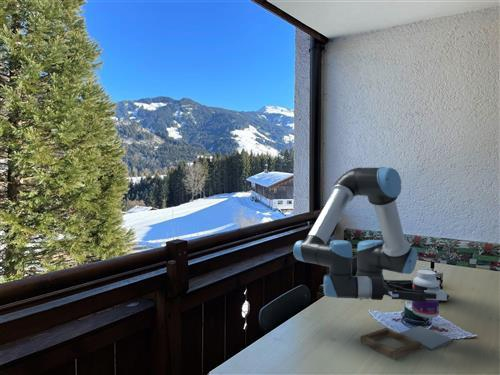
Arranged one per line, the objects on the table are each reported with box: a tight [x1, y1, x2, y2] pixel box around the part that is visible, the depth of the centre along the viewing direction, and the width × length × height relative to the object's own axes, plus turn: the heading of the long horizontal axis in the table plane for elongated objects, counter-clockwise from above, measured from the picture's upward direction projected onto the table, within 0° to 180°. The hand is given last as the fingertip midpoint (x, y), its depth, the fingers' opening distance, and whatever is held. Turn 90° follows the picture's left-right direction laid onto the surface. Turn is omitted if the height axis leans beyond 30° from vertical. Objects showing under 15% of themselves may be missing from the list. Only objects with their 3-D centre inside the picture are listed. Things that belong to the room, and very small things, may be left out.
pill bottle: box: [411, 269, 441, 319], centre depth 119 cm, size 8×8×14 cm
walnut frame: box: [359, 327, 422, 361], centre depth 115 cm, size 13×13×2 cm
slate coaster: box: [400, 325, 454, 352], centre depth 119 cm, size 12×12×1 cm
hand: (440, 291), depth 118 cm, fingers closed on pill bottle, 8 cm apart
